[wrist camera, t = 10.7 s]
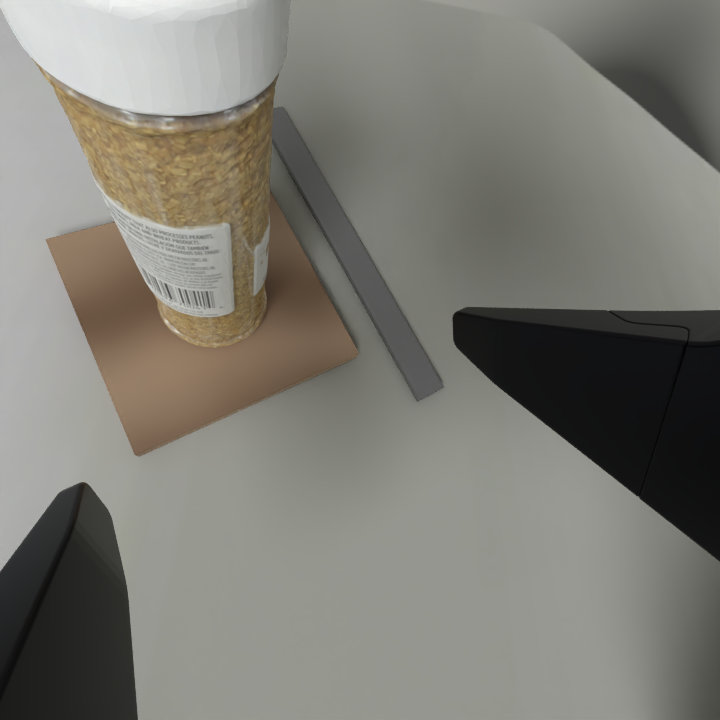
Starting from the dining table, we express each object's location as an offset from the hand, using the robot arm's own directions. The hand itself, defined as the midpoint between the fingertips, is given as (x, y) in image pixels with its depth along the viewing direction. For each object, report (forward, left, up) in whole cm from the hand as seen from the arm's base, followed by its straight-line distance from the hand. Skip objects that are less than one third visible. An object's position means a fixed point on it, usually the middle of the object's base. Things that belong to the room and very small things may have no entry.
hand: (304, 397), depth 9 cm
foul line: (-1, -11, -9) cm, 14 cm away
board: (+5, -5, -9) cm, 11 cm away
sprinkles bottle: (+4, -5, -8) cm, 11 cm away
